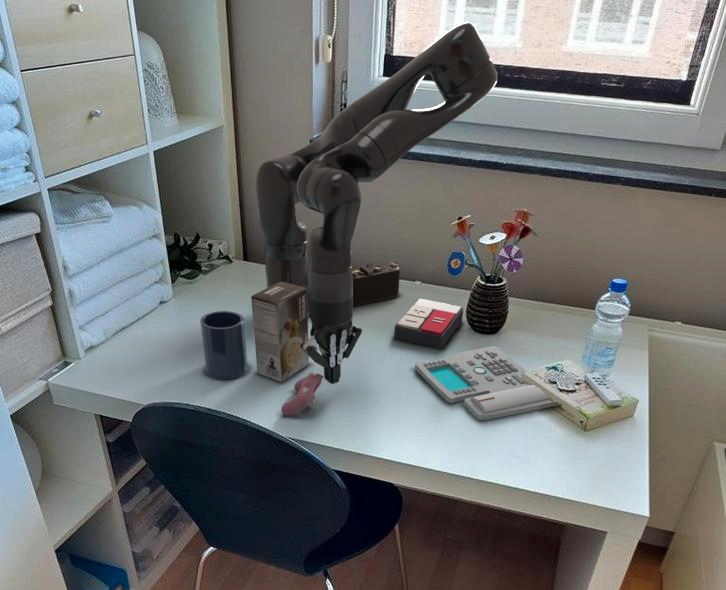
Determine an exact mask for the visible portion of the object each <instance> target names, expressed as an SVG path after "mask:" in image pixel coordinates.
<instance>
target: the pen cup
mask: <svg viewBox="0 0 726 590" xmlns="http://www.w3.org/2000/svg"><path fill="white" fill-rule="evenodd" d="M199 321H200V322H199V323H200V331H201V339H202V348H203V357H204V358H203V359H204V365H205V370H206V371H205V372H206V374H207V375H208V376H209V377H211V378H213V379H216V380H223V381H226V380H234V379H237V378H240V377H242V376H244V375H246V374H247V372H248V354H247V342H246V328H245V327H246V326H245V318H244V317H243V315H242V314H240V313H238V312H235V311H229V310H218V311H212V312H209V313H206V314H204V315H202V317H201V318H200V320H199Z"/></svg>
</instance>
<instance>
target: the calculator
mask: <svg viewBox="0 0 726 590" xmlns="http://www.w3.org/2000/svg"><path fill="white" fill-rule="evenodd" d="M463 316H464V307H463V306H459V305H454V304H449V303H444V302H440V301H434V300H430V299H424V298H418V299H416V300H415V302H414V303H413V304H411V306H410V307H409V309H408V310H407V311H406V312H405V313H404V314H403V316H402V317H401V318H400V319H399V321H397V323H396V324H395V325H394V332H393V338H394V340H399V341H404V342H409V343H413V344H417V345H421V346H426V347H431V348H434V349H438V350H442V349H443V348H444V346H445V344H446V343H447V342H448V340H449V339H450V338H451V336H452V335H453V334H454V333H455V331H456V330H458V328H459V327H460V326H461V324H462V322H463Z"/></svg>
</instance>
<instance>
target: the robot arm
mask: <svg viewBox="0 0 726 590" xmlns="http://www.w3.org/2000/svg"><path fill="white" fill-rule="evenodd" d="M426 75H430V76H431V78H432V80H433V82H434V84H435V86H436V88H437V89H438V92H439V94H440V95H441V97H442V99H443V101H444V102H443V103H441V104H438V105H437V106H434V107H430V108H423V109H407V108H408V105H409V103H410V102H411V99H412V97H413V95H414V94H415V92H416V89H417V88H418V87H419V85H420V83H421V81H422V80H423V79H424V77H425V76H426ZM497 82H498V72H497V69H496V67H495V65H494V63H493V60H492V59H491V57H490V54H489V52H488V51H487V48H486V46H485V43H484V42H483V39H482V38H481V36H480V34H479V32H478V30H477V28H476V26H475V25H474V24H473V23H472V22H468V21H467V22H462V23H460V24H458V25H456V26H453V27H452V28H451V29H450V30H448V31H446V32H445V33H444V34H443V35H441V36H440V37H438V39H436V40H435V41H434V42H432V43H431V44H430V45H428V47H426V48H425V49H424V50H422V51H421V52H420V53H419V54H418V55H416V56H415V57H414V58H413V59H412V60H410V61H408V62H407V64H405V65H404V66H403V67H401V68H400V70H398V71H397V72H396V73H394V74H393V75H391V76H390V77H389V78H387V79H385V80H384V81H382V82H381V83H380V84H379V85H377V86H376V87H374V88H372V89H371V90H370V91H367V93H365V94H363V95H362V96H360V97H359V98H357V99H356V100H355V101H353V102H352V103H351V104H348V106H346V107H345V108H344V109H342V110H341V111H339V112H338V113H337V114H336V115H335V116H334V117H333V118H332V119H331V121H330V122H329V123H328V124H327V126H326V127H325V128H324V130H323V132H322V133H321V134H320V135H319V136H318V138H316V139H315V140H313V141H311V142H310V143H309V144H307V145H305V146H303V147H302V148H299V149H297V150H296V151H293V152H290V153H287V154H284V155H280V156H278V157H277V156H276V157H274V158H271V159H268V160H266V161H263V162H262V163H261V164H260V165H259V167H258V169H257V172H256V175H255V196H256V205H257V213H258V221H259V225H260V229H261V230H262V233H263V242H264V243H263V245H264V261H265V262H264V263H265V264H264V265H265V282H266V288H269V287H271V286H273V285H275V284H277V283H279V282H285V283H288V284H293V285H296V286H300V287H304V288H307V307H308V318H309V319H310V322H311V329H310V332H309V335H310V336H309V337H308V341H307V342H306V343H305V342H302V343H301V345H300V348H301V349H302V350H303V351H304V352H305V353H306V354H307V355H308V356H309V359H311V360H312V361H313V362H314V363H315V364H316V365H319V366H321V367H322V368H323V376H324V377H323V379H324V380H325V381H326V382H327V383H329V384H330V385H334V384H336V383H339V382H340V379H341V376H342V375H341V374H342V373H341V371H342V370H341V369H342V368H341V367H342V366H341V365H342V363H343V360H344V359H348V358H350V356H351V354H352V352H353V350H354V348H355V346H356V344H357V342H358V340H359V339H360V337H361V335H362V333H363V329H362V328H360V326H357V325H355V324H353V317H354V306H353V277H352V272H353V270H352V240H353V237H354V233H355V230H356V226H357V221H358V219H359V218H358V217H359V214H360V209H361V204H362V192H361V188H360V184H359V183H372V182H374V181H376V180H377V179H378V178H380V177H381V176H383V174H385V172H387V171H388V170H389V169H391V167H392V166H393V165H394V164H396V163H397V162H398V161H399V160H400V159H401V158H402V157H403V156H405V155H406V154H407V153H409V152H410V151H411V150H412V149H413V148H415V147H416V146H417V145H419V144H421V143H422V142H424V141H425V140H427V139H428V138H429V137H431V136H433V135H434V134H436V133H437V132H439V131H440V130H441V129H443V128H444V127H446V126H447V125H449V124H450V123H452V122H453V121H454V120H456V119H457V118H458V117H460V116H461V115H463V114H464V113H466V112H467V111H468V110H470V109H471V108H473V107H474V106H476V105H477V104H478V103H479V102H480V101H482V100H483V99H484V98H485V97H486V96H487V95H488V94H489V93H491V91H492V90H493V89H494V87H496V85H497ZM299 203H301V204H302V205H303V206H305V207H306V208H307V209H309V210H312V211H314V212H317V213H319V214H321V215H322V217H323V218H322V219H323V220H322V221H323V222H322V226H319V227H316V228H314V229H312V231H311V232H310V233H309V236H308V227H307V225H306V224H305V223H304V222H302V221H300V220H297V215H296V214H297V213H296V204H299ZM365 265H366V266H367V267H368V268H369V267H370V266H369V263H367V262H364V263H363V264H362V266H365ZM358 271H360V269H358ZM318 351H319V352H320V353H319V352H318Z"/></svg>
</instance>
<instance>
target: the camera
mask: <svg viewBox="0 0 726 590" xmlns="http://www.w3.org/2000/svg"><path fill="white" fill-rule="evenodd" d="M359 270H360V271H359ZM400 275H401V267H400V266H399V263H398V262H396V261H391V262H390V263H389V265H387V266H386V265H385V266H380V265H374V266H373V268H369V267H367V266H366V265H365V266H363V265H360V266H359V269H358V270H357V269H356V270H352V277H353V307H355V306H360V305H364V304H368V303H369V304H370V303H375V302H379V301H384V300H390V299H394V298H395V299H396V298H398V297H399V296H400V293H399V291H400V279H401V278H400V277H401V276H400Z"/></svg>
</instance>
